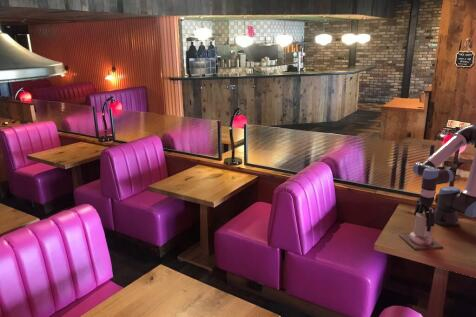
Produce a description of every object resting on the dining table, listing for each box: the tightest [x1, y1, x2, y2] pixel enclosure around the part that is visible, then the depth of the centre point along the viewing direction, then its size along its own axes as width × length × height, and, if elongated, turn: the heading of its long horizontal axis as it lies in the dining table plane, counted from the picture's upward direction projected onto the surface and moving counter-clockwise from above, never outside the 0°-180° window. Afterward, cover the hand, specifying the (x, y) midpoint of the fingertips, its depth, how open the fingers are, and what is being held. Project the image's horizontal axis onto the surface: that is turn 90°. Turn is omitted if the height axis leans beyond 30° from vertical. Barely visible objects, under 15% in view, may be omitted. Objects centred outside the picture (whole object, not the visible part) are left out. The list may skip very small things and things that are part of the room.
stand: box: [398, 231, 444, 251], centre depth 230 cm, size 17×17×4 cm
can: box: [413, 212, 433, 237], centre depth 227 cm, size 9×9×12 cm
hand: (421, 232), depth 228 cm, fingers closed on can, 9 cm apart
